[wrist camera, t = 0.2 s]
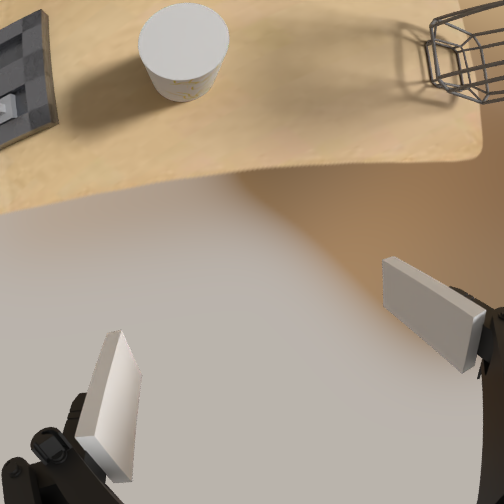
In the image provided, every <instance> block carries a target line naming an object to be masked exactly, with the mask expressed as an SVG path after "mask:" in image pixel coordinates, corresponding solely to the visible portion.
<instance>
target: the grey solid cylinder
mask: <svg viewBox="0 0 504 504" xmlns="http://www.w3.org/2000/svg"><path fill="white" fill-rule="evenodd" d="M228 46H229V32H228V28H227V26H226V24H225V22H224V20H223V19H222V18H221V17H220V16H219V15H218V14H217V13H216V12H215V11H213V10H212V9H210V8H208V7H206V6H203V5H200V4H195V3H179V4H174V5H171V6H168V7H165V8H163V9H161V10H159V11H158V12H156V13H155V14H154V15H153V16H151V17H150V18H149V20H148V21H147V22H146V23H145V25H144V26H143V28H142V30H141V32H140V35H139V40H138V49H139V54H140V57H141V59H142V61H143V63H144V66H145V68H146V70H147V72H148V74H149V76H150V79H151V81H152V83H153V85H154V87H155V89H156V90H157V91H158V92H159V93H160V94H161V95H162V96H163V97H165V98H167V99H169V100H172V101H177V102H187V101H192V100H195V99H197V98H199V97H201V96H203V95H204V94H205V93H206V92H207V91H208V90H209V89H210V88H211V87H212V85H213V83H214V81H215V79H216V76H217V74H218V71H219V69H220V67H221V64H222V62H223V59H224V57H225V55H226V52H227V50H228Z"/></svg>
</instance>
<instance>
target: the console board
mask: <svg viewBox="0 0 504 504" xmlns="http://www.w3.org/2000/svg"><path fill="white" fill-rule="evenodd" d="M9 94H13V95H15V99H16V108H17V116H18V117H17V118H15V119H13V120H11V121H9V122H7V123H5V124H3V125H1V126H0V150H1V149H3V148H5V147H7V146H9V145H11V144H13V143H16V142H18V141H20V140H22V139H24V138H26V137H29V136H31V135H33V134H36V133H38V132H40V131H43V130H45V129H47V128H50V127H52V126H55V125H57V124H59V120H58V114H57V107H56V100H55V93H54V85H53V76H52V67H51V55H50V41H49V18H48V15H47V14H46V13H45V12H44V11H43V10H42V9H40V10H38V11H36V12H34V13H32V14H30V15H28V16H26V17H24V18H22V19H20V20H18V21H16V22H14V23H12V24H10V25H8V26H7V27H5V28H3V29H1V30H0V99H1V98H3V97H5V96H7V95H9Z"/></svg>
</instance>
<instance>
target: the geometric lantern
mask: <svg viewBox="0 0 504 504" xmlns="http://www.w3.org/2000/svg"><path fill="white" fill-rule="evenodd" d="M502 5H504V0H503V1H498V2H493V3H488V4H484V5H480V6H476V7H472V8H468V9H464V10H460V11H457V12H453V13H450V14H446V15H443V16H440V17H437V18H434V19H433V21H432V22H431V23H430V25H429V28H430V34H431V40H428V41H427V42H426V45H425V46H426V51H427V57H428V62H429V69H430V75H431V82H432V83H433V84H434V85H435V86H436V87H439V88H444V89H445V90H446V91H447V92H448V93H450V94H453V95H456V96H459V97H462V98H465V99H468V100H471V101H474V102H477V103H480V104H483V105H484V104H489V103H494V102H500V101H504V97H503V98H498V99H493V100H488V101H486V100H487V98H488V97H489V95H495V94H504V90H502V91H494V92H489V88H488V83H492V82H496V81H500V80H504V76H500V77H495V78H491V79H487V73H486V68H489V67H493V66H497V65H503V64H504V60H502V61H497V62H493V63H488V64H485V61H484V55H483V50H482V49H484V48H489V47H494V46H499V45H504V41H503V42H498V43H493V44H489V45H485V46H481V45H480V43H479V42H478V40H477V39H476V37H475V36H480V35H485V34H491V33H497V32H502V31H504V28H501V29H496V30H490V31H486V32H480V33H475V34H471V33H469V32H467V31H465V30H463V29H461V28H459V27H456V26H454V25H452V24H450V23H447V22H450V21H453V20H456V19H459V18H462V17H465V16H468V15H471V14H474V13H477V12H481V11H484V10H488V9H491V8H495V7H498V6H502ZM455 15H457V16H455ZM451 16H454V17H451ZM448 17H451V18H448ZM444 18H448V19H445V20H441V19H444ZM437 21H438V22H437ZM441 24H445V25H448V26H450V27H452V28H454V29H457V30H459V31H461V32H463V33H466V34H468V35H470V37H469V38H468V39H467V40H466V41H465V42H464V43H463V44H462V45H457V44H454V43H450V42H447V41H443V40H439V39H435V37H436V29H437V26H439V25H441ZM433 27H434V33H433ZM472 37H473V38H474V40H475V41H476V43H477V44H478V46H479V47H475V48H469V49H463V48H462V46H464V45H465V44H466V43H467V42H468V41H469V40H470V39H471V38H472ZM435 41H439V42H443V43H447V44H451V45H454V46H455V47H450V46H447V45H444V44H440V43H437V42H435ZM431 44H432V48H433V55H434V64H435V73H436V79H434V80H433V75H432V68H431V62H430V56H429V51H428V46H429V45H431ZM435 44H437V45H440V46H444V47H447V48H451V49H453V50H454V51H455V52H456V53H457V57H458V63H459V69H460V70H459V71H455V72H451V73H447V74H443V75H440V69H439V64H438V59H437V53H436V46H435ZM459 47H460V48H461V51H456V49H455V48H459ZM475 49H480V53H481V59H482V65H479V66H475V67H471V68H468V65H467V60H466V56H465V52H464V51H469V50H475ZM461 52H463V56H464V60H465V64H466V69H462V70H461V64H460V58H459V53H461ZM479 69H483V71H484V78H485V80H483V81H479V82H475V83H471V79H470V74H469V72H471V71H475V70H479ZM466 72H467V73H468V78H469V84H464V82H463V76H462V73H466ZM458 74H460V75H461V81H462V86H460V85H455V84H450V83H445V82H443V81H442V80H441V79H442V78H446V77H450V76H454V75H458ZM435 81H438V82H439V83H440V84H436V83H435ZM483 84H485V85H486V91H483V90H481V89H479V88H477V87H475V86H479V85H483ZM446 85H449V86H454V87H456V88H450V87H447V86H446ZM471 87H472V88H475V89H477V90H479V91H482V92H483V93H486V96H485V98H484V99H483V101H481V99H480V98H479V97H478V96H477V95H476V94H475V93H474V92H473V91H472V90H471V89H470V88H471ZM462 90H469V91H470V92H471V93H472V94H473V95H474V96H475V97H476V98H477V99H478V100H477V99H474V98H472V97H469V96H466V95H463V94H460V93H457V92H455V91H460V92H462Z"/></svg>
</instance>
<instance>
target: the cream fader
mask: <svg viewBox="0 0 504 504" xmlns="http://www.w3.org/2000/svg"><path fill="white" fill-rule="evenodd" d="M17 117H18V116H17V108H16V99H15V95H13V94H9V95H7V96H5V97H3V98H1V99H0V126H1V125H3V124H5V123H7V122H9V121H11V120H13V119H15V118H17Z"/></svg>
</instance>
